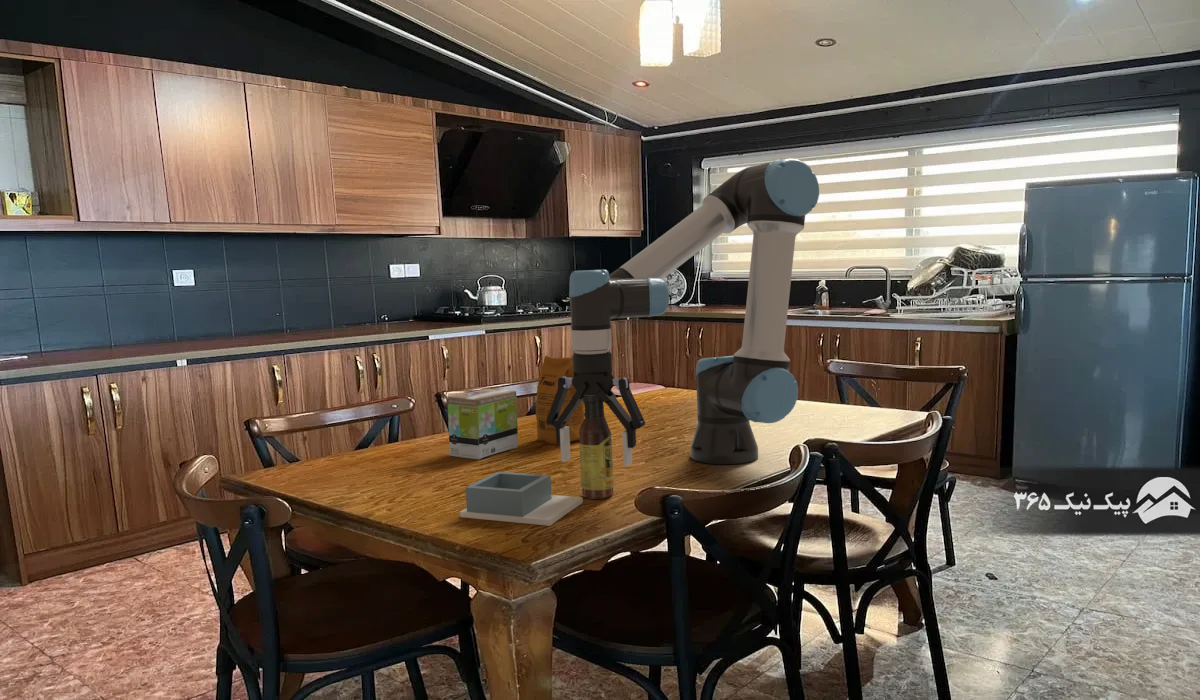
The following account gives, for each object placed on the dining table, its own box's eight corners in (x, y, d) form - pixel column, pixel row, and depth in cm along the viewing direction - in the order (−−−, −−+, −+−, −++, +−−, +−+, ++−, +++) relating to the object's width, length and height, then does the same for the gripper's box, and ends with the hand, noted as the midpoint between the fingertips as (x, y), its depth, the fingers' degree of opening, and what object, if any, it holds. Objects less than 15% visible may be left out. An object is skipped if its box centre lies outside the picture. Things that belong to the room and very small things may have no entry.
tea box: (480, 460, 186) (477, 398, 185) (448, 456, 192) (445, 396, 190) (520, 447, 199) (517, 388, 198) (489, 444, 204) (485, 387, 203)
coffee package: (561, 434, 213) (557, 352, 211) (590, 440, 203) (587, 355, 201) (531, 440, 207) (526, 356, 204) (559, 447, 197) (555, 359, 195)
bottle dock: (582, 502, 149) (581, 474, 149) (549, 525, 136) (548, 494, 136) (499, 495, 156) (497, 468, 156) (460, 517, 143) (458, 487, 143)
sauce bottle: (614, 500, 150) (610, 396, 148) (581, 501, 150) (576, 397, 148) (613, 490, 157) (610, 390, 155) (582, 491, 157) (578, 392, 155)
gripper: (659, 349, 149) (663, 461, 151) (543, 349, 159) (548, 454, 161) (646, 354, 142) (650, 471, 145) (525, 353, 152) (530, 463, 154)
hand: (596, 462), depth 153 cm, fingers open, 12 cm apart
